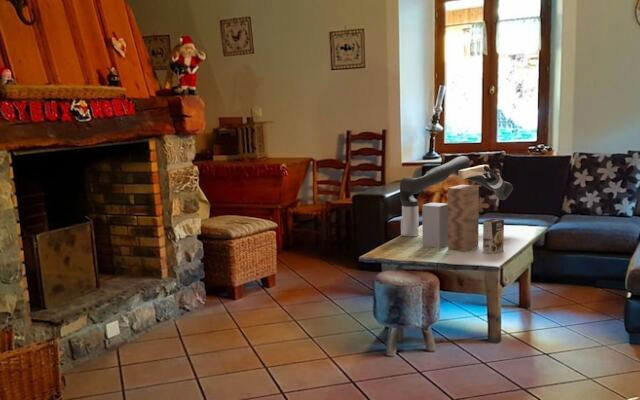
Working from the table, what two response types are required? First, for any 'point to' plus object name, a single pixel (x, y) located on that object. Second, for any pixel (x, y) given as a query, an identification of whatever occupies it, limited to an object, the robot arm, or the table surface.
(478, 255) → the table surface
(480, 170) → the bar
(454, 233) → the tall pedestal
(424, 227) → the base pedestal
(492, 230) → the coffee box
